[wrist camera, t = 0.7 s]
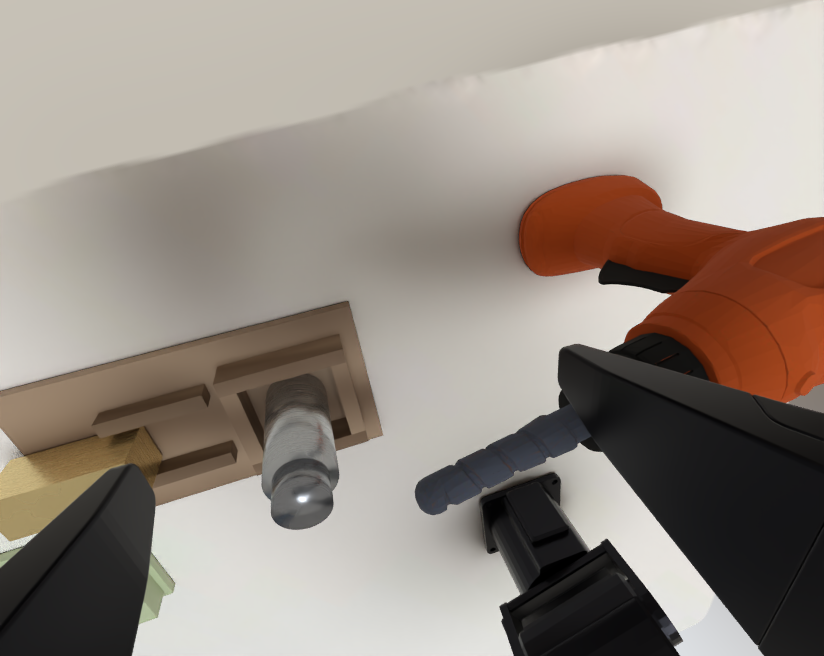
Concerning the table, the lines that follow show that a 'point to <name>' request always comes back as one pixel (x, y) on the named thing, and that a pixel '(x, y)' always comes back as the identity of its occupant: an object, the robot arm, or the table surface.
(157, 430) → the socket block
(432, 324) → the table surface
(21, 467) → the yellow rectangular block
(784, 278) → the toy drill
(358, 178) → the table surface
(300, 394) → the chrome stepped cylinder
